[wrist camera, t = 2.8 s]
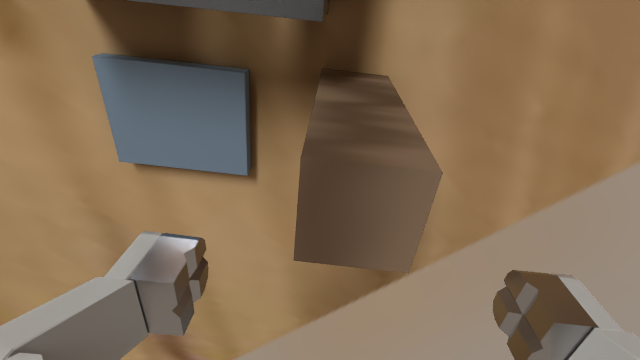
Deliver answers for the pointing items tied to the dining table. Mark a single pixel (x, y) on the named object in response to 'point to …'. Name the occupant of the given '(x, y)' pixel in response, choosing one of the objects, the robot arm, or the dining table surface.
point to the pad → (177, 113)
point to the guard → (259, 7)
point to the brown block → (362, 177)
